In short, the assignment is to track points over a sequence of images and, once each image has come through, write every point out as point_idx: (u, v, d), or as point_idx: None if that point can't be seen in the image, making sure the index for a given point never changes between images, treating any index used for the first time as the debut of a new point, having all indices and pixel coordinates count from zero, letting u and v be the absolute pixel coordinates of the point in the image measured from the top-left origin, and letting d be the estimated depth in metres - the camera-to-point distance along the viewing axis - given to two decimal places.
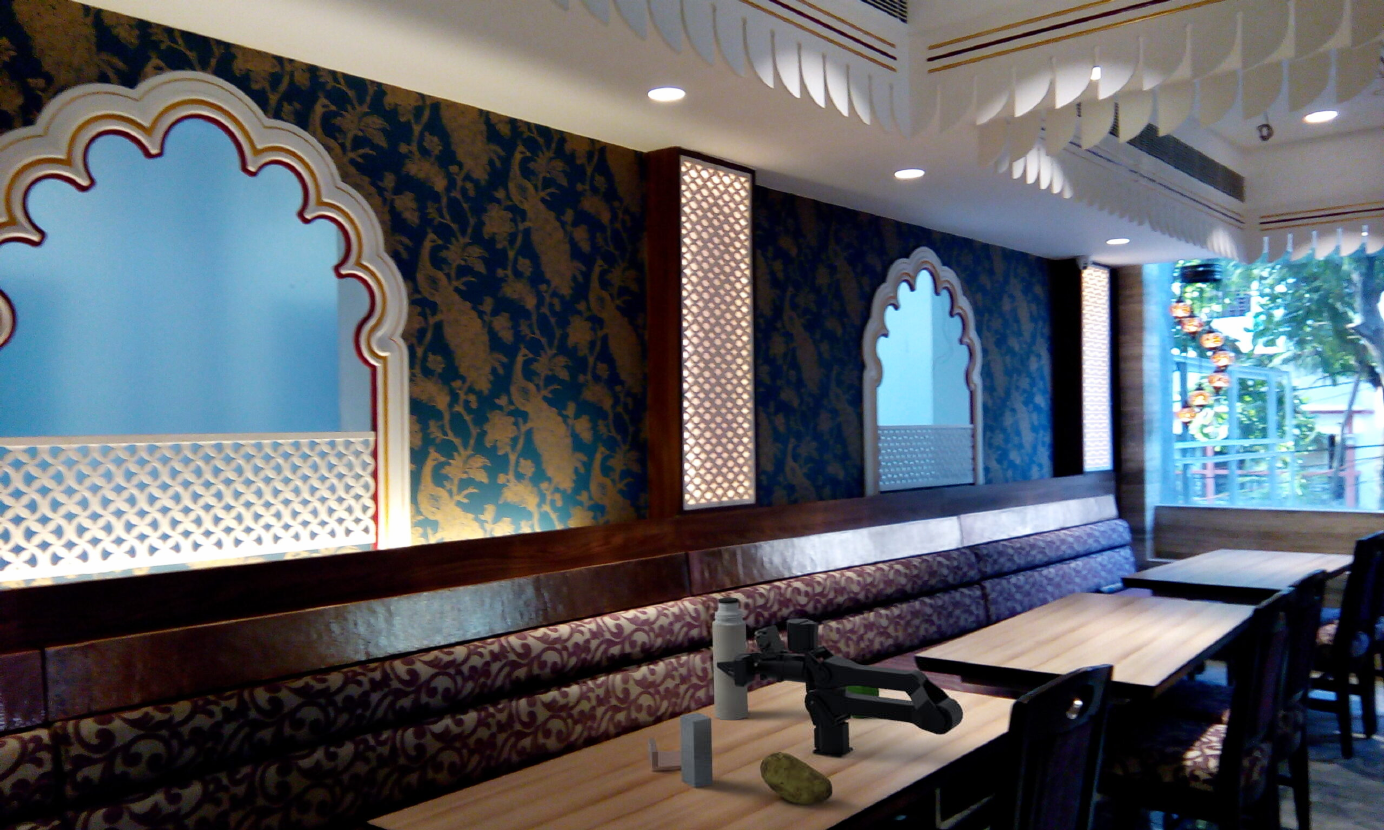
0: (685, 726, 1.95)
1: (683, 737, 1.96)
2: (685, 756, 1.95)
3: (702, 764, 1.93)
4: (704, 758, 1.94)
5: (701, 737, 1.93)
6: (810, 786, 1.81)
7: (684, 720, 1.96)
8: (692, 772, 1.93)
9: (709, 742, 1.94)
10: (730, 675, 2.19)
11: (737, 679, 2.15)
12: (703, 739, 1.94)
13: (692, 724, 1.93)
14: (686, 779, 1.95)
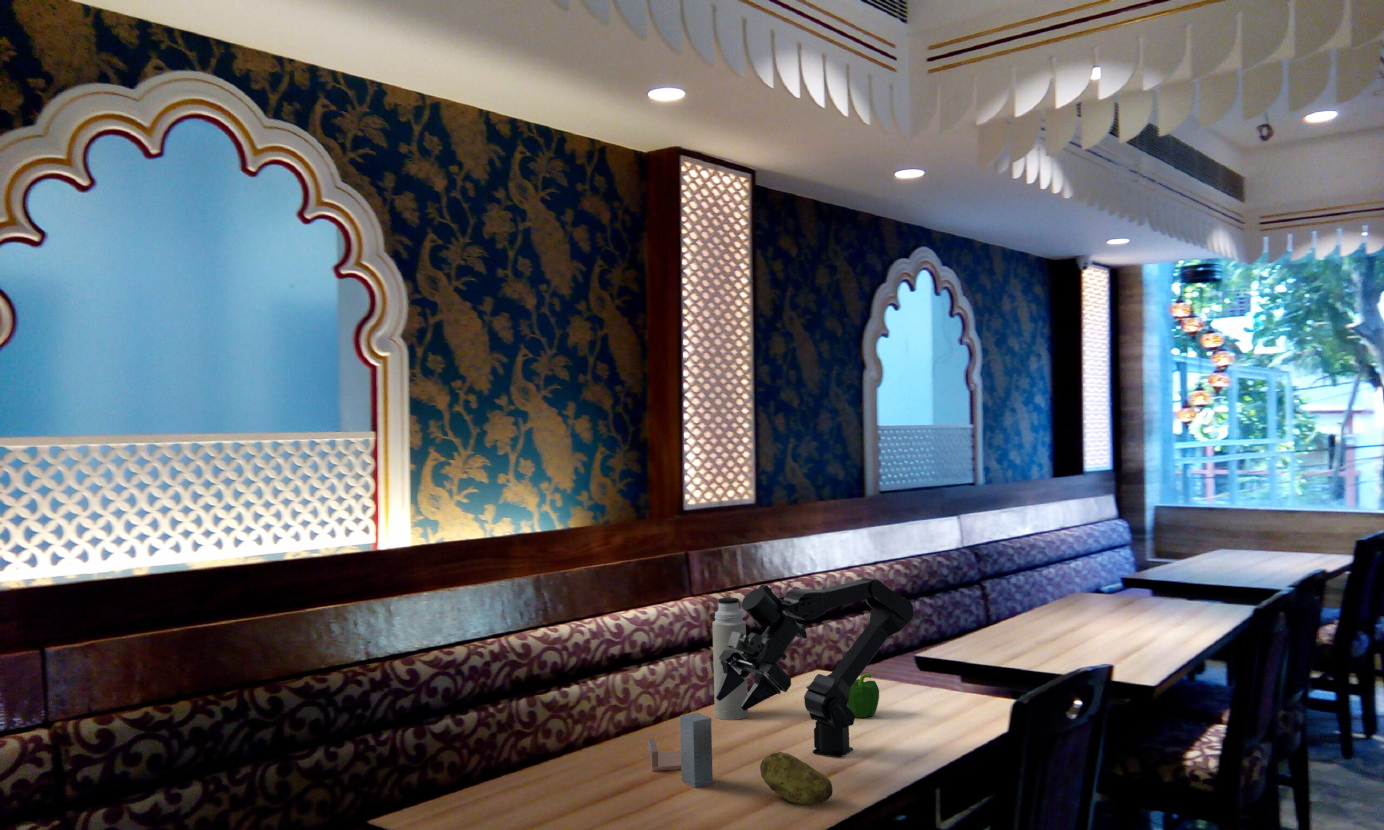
0: (685, 726, 1.95)
1: (683, 737, 1.96)
2: (685, 756, 1.95)
3: (702, 764, 1.93)
4: (704, 758, 1.94)
5: (701, 737, 1.93)
6: (810, 786, 1.81)
7: (684, 720, 1.96)
8: (692, 772, 1.93)
9: (709, 742, 1.94)
10: (764, 697, 1.97)
11: (784, 684, 1.96)
12: (703, 739, 1.94)
13: (692, 724, 1.93)
14: (686, 779, 1.95)
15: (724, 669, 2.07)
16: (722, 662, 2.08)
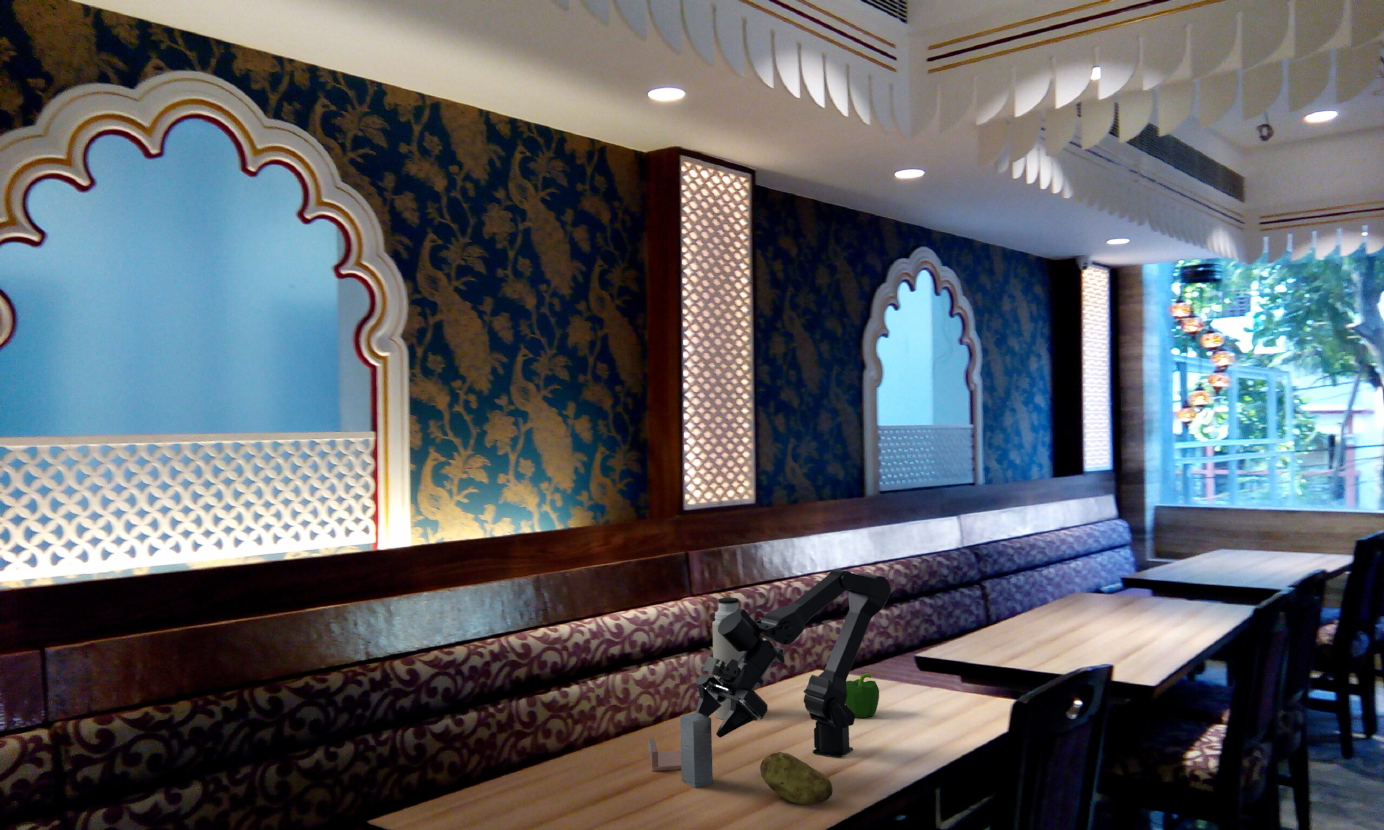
0: (685, 726, 1.95)
1: (683, 737, 1.96)
2: (685, 756, 1.95)
3: (702, 764, 1.93)
4: (704, 758, 1.94)
5: (701, 737, 1.93)
6: (810, 786, 1.81)
7: (684, 720, 1.96)
8: (692, 772, 1.93)
9: (709, 742, 1.94)
10: (740, 724, 1.94)
11: (761, 711, 1.92)
12: (703, 739, 1.94)
13: (692, 724, 1.93)
14: (686, 779, 1.95)
15: (700, 694, 2.04)
16: (698, 687, 2.04)
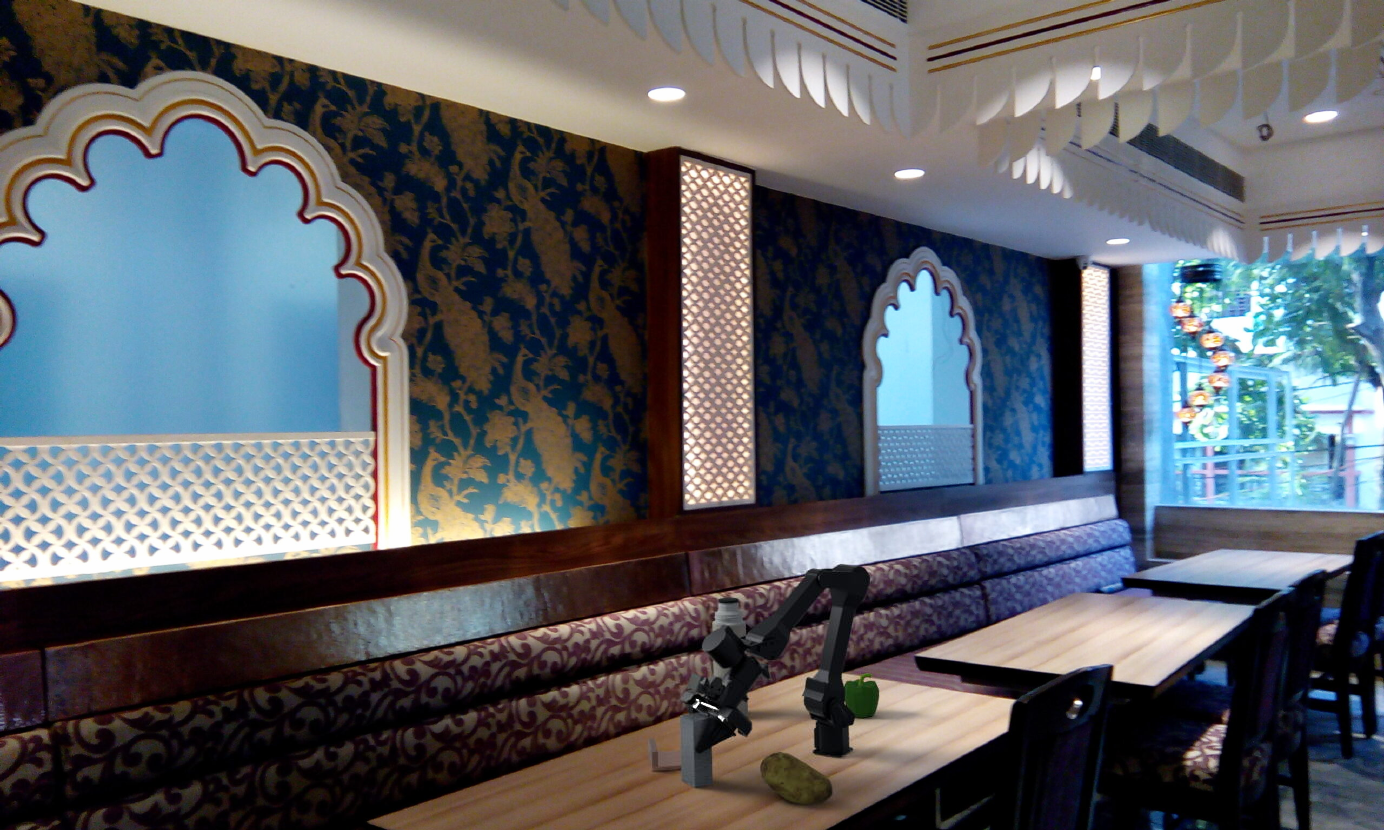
0: (685, 726, 1.95)
1: (683, 737, 1.96)
2: (685, 756, 1.95)
3: (702, 764, 1.93)
4: (704, 758, 1.94)
5: (701, 737, 1.93)
6: (810, 786, 1.81)
7: (684, 720, 1.96)
8: (692, 772, 1.93)
9: None
10: (719, 740, 1.94)
11: (745, 729, 1.90)
12: None
13: (692, 724, 1.93)
14: (686, 779, 1.95)
15: None
16: (688, 706, 2.01)
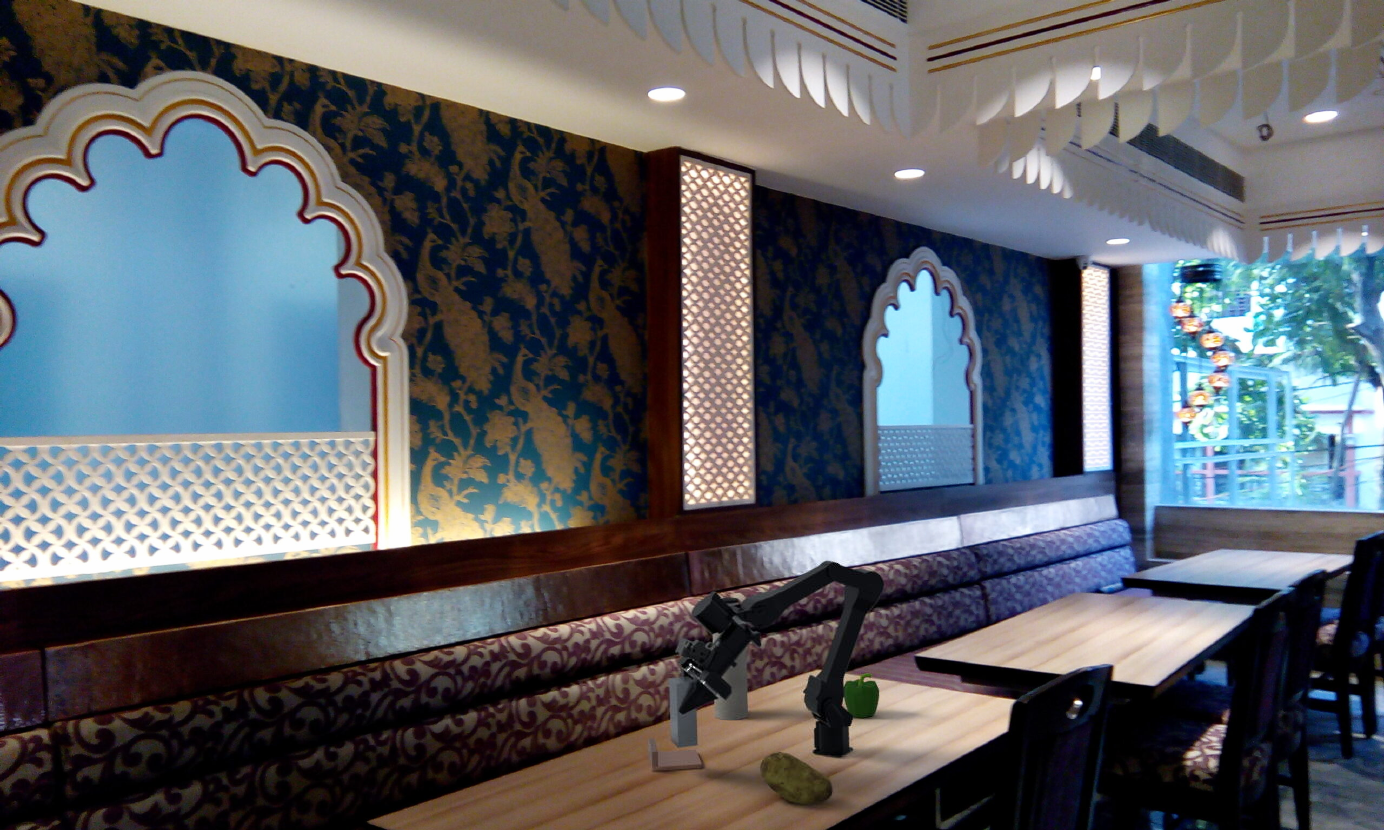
0: (672, 688, 2.03)
1: (671, 699, 2.03)
2: (672, 717, 2.03)
3: (686, 725, 2.00)
4: (688, 720, 2.00)
5: None
6: (810, 786, 1.81)
7: (671, 683, 2.03)
8: (676, 732, 2.00)
9: None
10: (703, 702, 2.00)
11: (723, 692, 1.96)
12: None
13: (676, 686, 2.00)
14: (673, 739, 2.02)
15: None
16: (681, 669, 2.08)
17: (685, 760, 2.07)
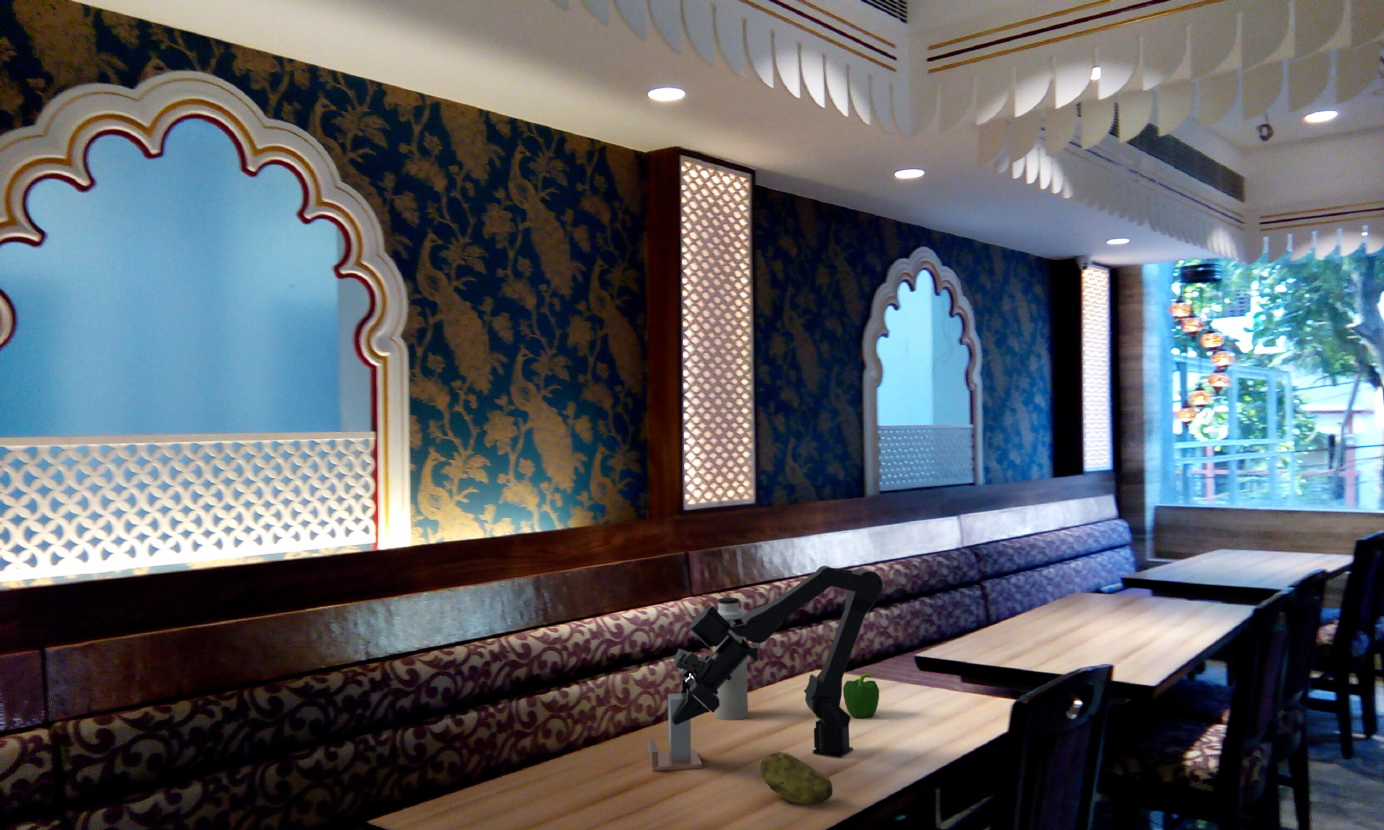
0: (669, 704, 2.09)
1: None
2: (669, 732, 2.09)
3: (680, 741, 2.06)
4: (682, 735, 2.06)
5: None
6: (810, 786, 1.81)
7: (668, 698, 2.09)
8: (670, 747, 2.07)
9: (687, 721, 2.06)
10: (695, 714, 2.04)
11: (710, 705, 2.00)
12: None
13: (670, 702, 2.06)
14: None
15: None
16: (681, 678, 2.15)
17: None
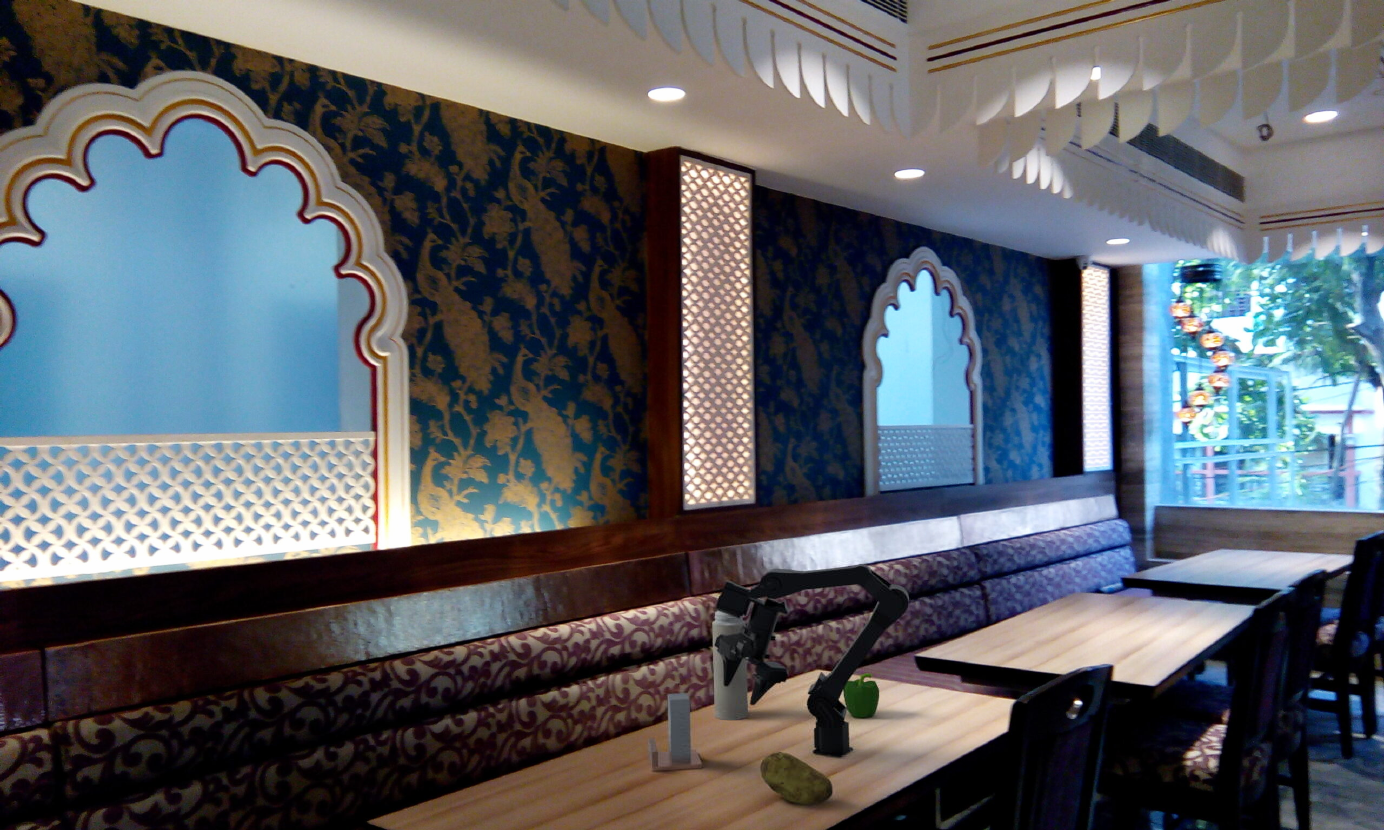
0: (668, 704, 2.09)
1: (668, 714, 2.10)
2: (669, 732, 2.09)
3: (679, 741, 2.06)
4: (682, 735, 2.06)
5: (678, 716, 2.06)
6: (810, 786, 1.81)
7: (668, 698, 2.09)
8: (670, 747, 2.07)
9: (687, 721, 2.06)
10: (768, 688, 2.13)
11: (783, 678, 2.10)
12: (680, 717, 2.06)
13: (670, 702, 2.06)
14: (669, 754, 2.09)
15: (723, 658, 2.20)
16: (719, 652, 2.20)
17: None
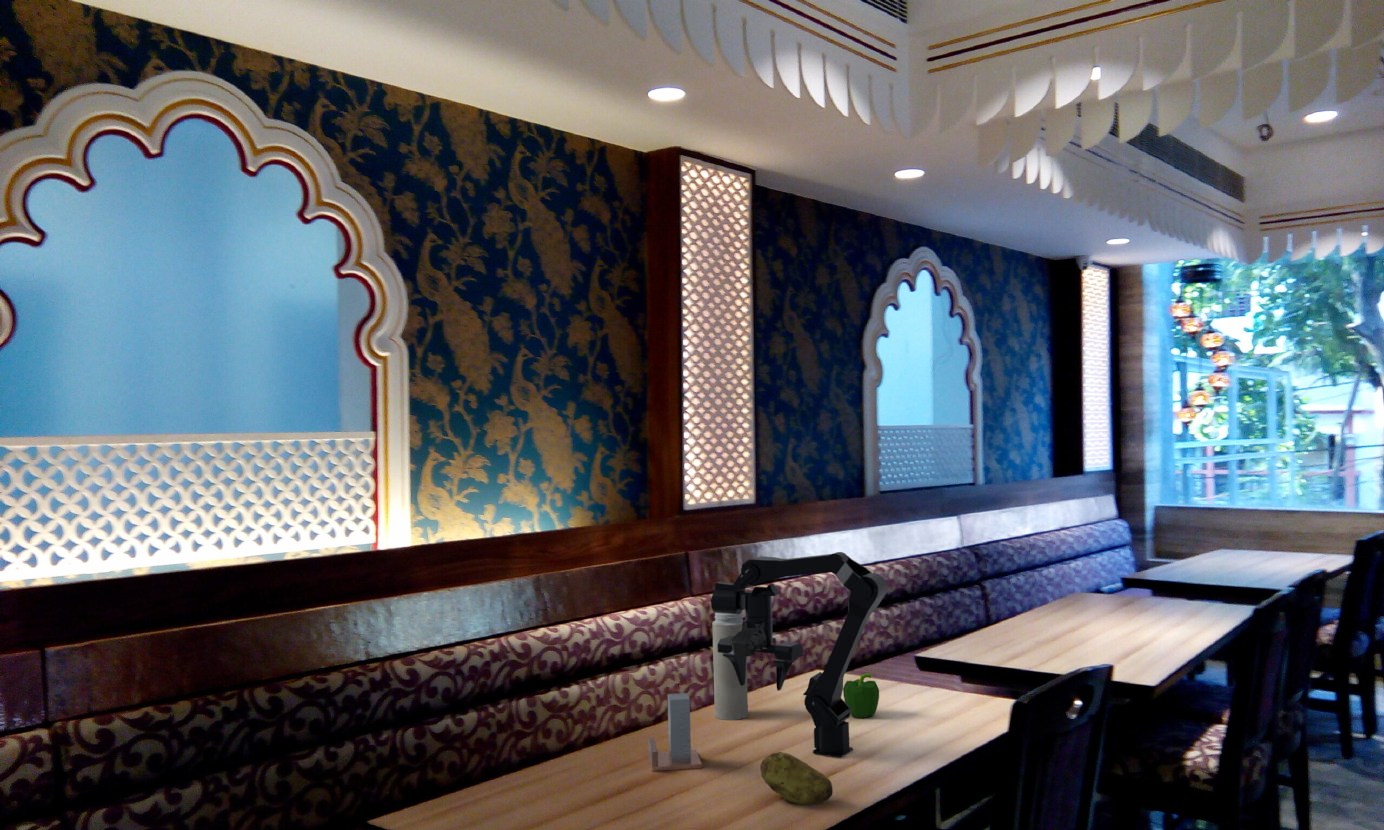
0: (668, 704, 2.09)
1: (668, 714, 2.10)
2: (669, 732, 2.09)
3: (679, 741, 2.06)
4: (682, 735, 2.06)
5: (678, 716, 2.06)
6: (810, 786, 1.81)
7: (668, 698, 2.09)
8: (670, 747, 2.07)
9: (687, 721, 2.06)
10: (788, 669, 2.18)
11: (800, 652, 2.16)
12: (680, 717, 2.06)
13: (670, 702, 2.06)
14: (669, 754, 2.09)
15: (731, 660, 2.22)
16: (726, 656, 2.22)
17: None
